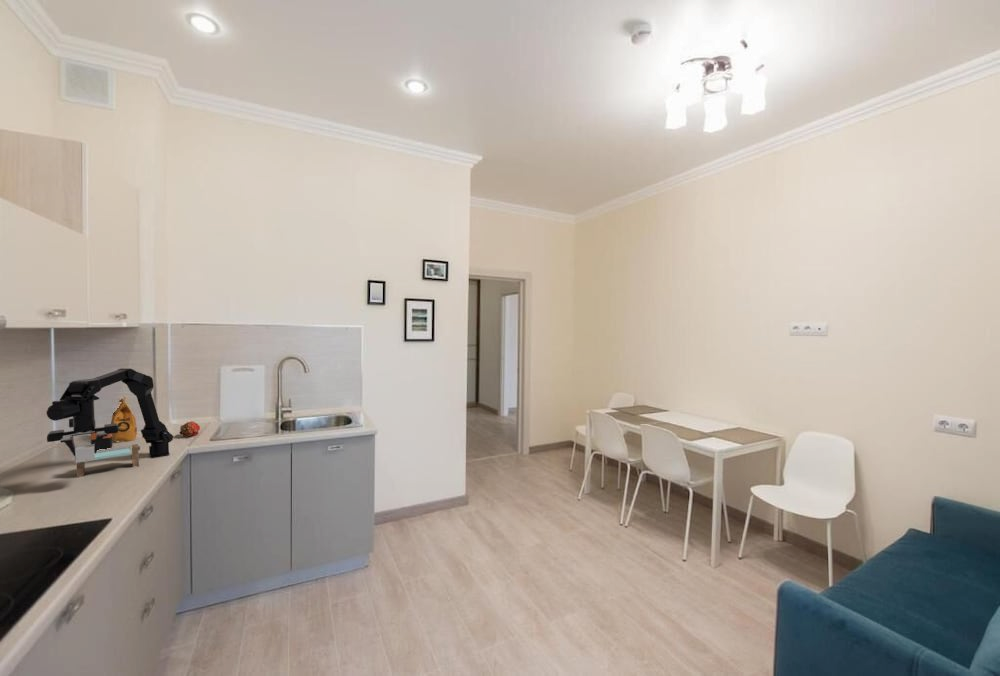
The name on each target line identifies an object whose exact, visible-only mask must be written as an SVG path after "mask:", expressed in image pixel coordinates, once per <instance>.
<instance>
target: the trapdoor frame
mask: <svg viewBox="0 0 1000 676" xmlns="http://www.w3.org/2000/svg"><path fill="white" fill-rule="evenodd" d="M140 450H141V446H139V444H138V443H137V444H131V455H132V456H131V459H132V464H133V465H132V468H135V467H134V466H137V467H140V464H139V462H140V459H139V457H140V456H139V451H140ZM74 460H75V461H76V458H75V457H74ZM75 464H76V477H77V478H79V477H78V476H82V477H85V475H84V474H86V469H85V467H86V465H85V462H79V463H76V462H75Z"/></svg>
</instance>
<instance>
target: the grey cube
mask: <svg viewBox="0 0 1000 676" xmlns="http://www.w3.org/2000/svg"><path fill="white" fill-rule="evenodd" d="M94 449H95V444H91V443H90V444H84V445H78V446H77V445H75V456H74V459H75V458H76V460H75V464H76V463H79V462H85V461H87V462H92V461H91V460H94V461H96V460H95V451H94Z"/></svg>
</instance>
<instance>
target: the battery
mask: <svg viewBox="0 0 1000 676" xmlns="http://www.w3.org/2000/svg"><path fill="white" fill-rule="evenodd" d="M96 436H97V433H92V434H90V444H95V442H96ZM112 447H113V436H112V434H107V436H106V437H103V438H102V440H101V442H100V444H99V447H98V449H97V450H99V449H107V448H111V449H112Z"/></svg>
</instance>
